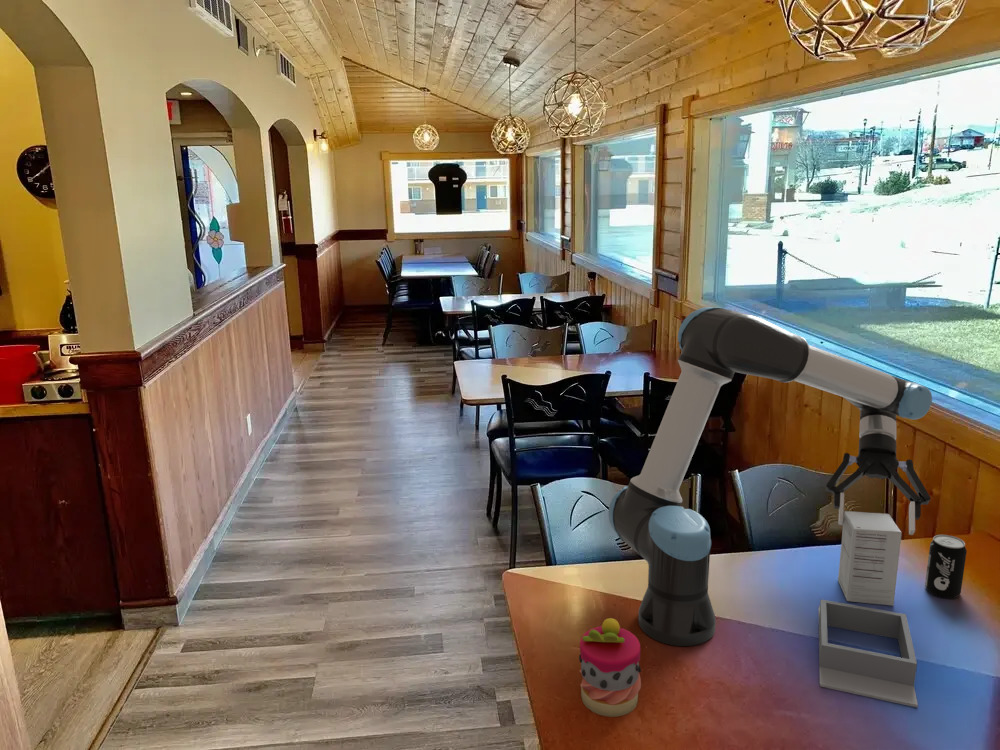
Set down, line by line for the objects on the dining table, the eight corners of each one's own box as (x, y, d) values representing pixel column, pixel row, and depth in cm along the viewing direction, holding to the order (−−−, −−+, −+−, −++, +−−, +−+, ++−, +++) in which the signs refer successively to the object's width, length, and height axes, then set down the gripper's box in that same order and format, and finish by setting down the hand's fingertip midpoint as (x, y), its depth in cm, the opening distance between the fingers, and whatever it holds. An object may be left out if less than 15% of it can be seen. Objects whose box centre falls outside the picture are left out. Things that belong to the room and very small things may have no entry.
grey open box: (819, 686, 125) (822, 661, 123) (818, 608, 148) (820, 586, 146) (917, 707, 119) (921, 681, 118) (900, 623, 142) (902, 600, 141)
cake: (578, 675, 129) (578, 602, 125) (637, 678, 128) (639, 604, 124) (579, 716, 119) (579, 638, 115) (642, 719, 118) (644, 640, 114)
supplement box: (894, 606, 147) (903, 532, 143) (846, 602, 150) (853, 529, 145) (882, 583, 156) (889, 512, 152) (836, 579, 159) (843, 509, 155)
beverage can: (967, 599, 149) (974, 547, 146) (935, 600, 149) (942, 548, 146) (948, 583, 156) (955, 533, 153) (918, 583, 156) (924, 533, 153)
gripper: (937, 452, 160) (939, 542, 150) (816, 440, 170) (811, 524, 160) (944, 437, 154) (946, 530, 144) (818, 426, 164) (813, 512, 154)
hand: (875, 527), depth 152 cm, fingers open, 13 cm apart
